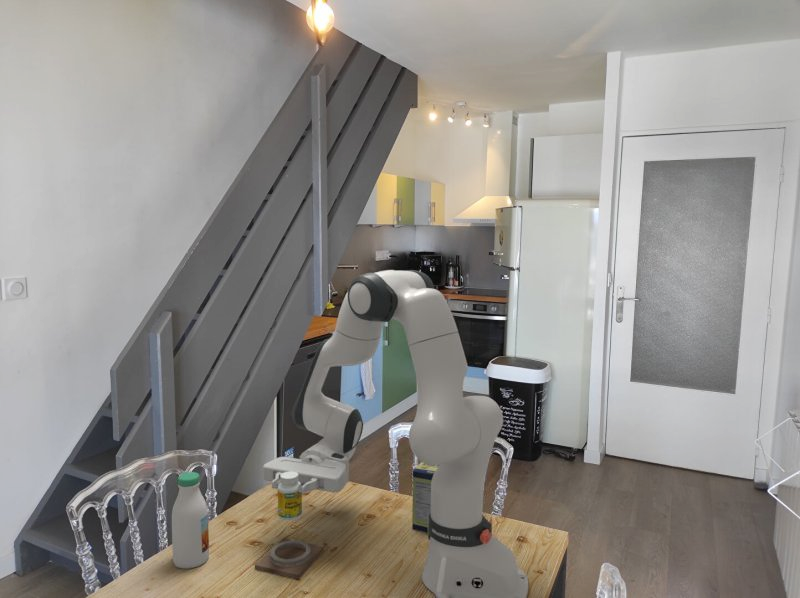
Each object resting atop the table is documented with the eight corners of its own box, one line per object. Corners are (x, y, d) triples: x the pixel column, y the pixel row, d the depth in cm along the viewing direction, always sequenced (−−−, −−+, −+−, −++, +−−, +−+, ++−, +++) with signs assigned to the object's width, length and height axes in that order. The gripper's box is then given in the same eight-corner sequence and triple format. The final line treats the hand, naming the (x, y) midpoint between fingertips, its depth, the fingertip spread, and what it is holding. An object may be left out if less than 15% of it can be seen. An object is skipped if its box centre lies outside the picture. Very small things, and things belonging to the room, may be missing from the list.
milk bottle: (194, 572, 124) (191, 485, 122) (165, 566, 127) (162, 479, 125) (216, 554, 132) (214, 471, 129) (188, 548, 134) (186, 466, 132)
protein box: (468, 510, 154) (469, 455, 152) (450, 538, 140) (452, 477, 138) (431, 503, 158) (432, 449, 156) (411, 529, 144) (411, 470, 142)
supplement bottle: (296, 507, 132) (296, 468, 131) (306, 517, 128) (305, 476, 127) (274, 513, 129) (273, 473, 128) (283, 523, 125) (282, 481, 124)
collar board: (324, 550, 133) (324, 541, 133) (298, 579, 122) (298, 569, 122) (283, 542, 137) (283, 533, 137) (254, 569, 126) (254, 559, 126)
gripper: (280, 446, 143) (247, 467, 130) (354, 458, 136) (328, 481, 123) (280, 470, 144) (248, 494, 131) (354, 483, 137) (328, 509, 124)
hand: (287, 487), depth 127 cm, fingers closed on supplement bottle, 5 cm apart
